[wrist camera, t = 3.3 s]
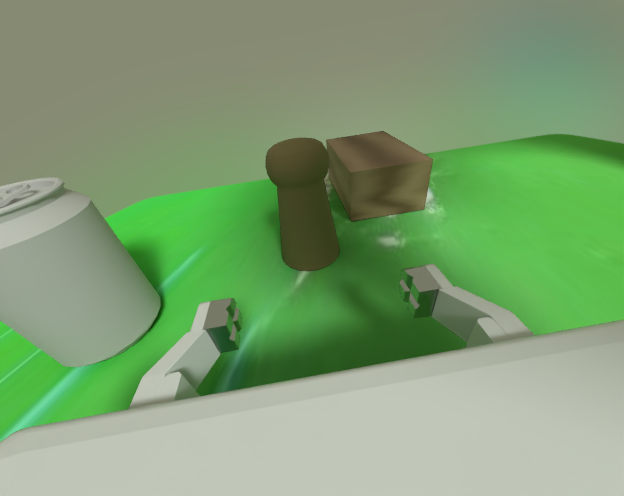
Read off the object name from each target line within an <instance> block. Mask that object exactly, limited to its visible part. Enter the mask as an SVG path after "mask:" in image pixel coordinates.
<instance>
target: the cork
mask: <svg viewBox="0 0 624 496" xmlns="http://www.w3.org/2000/svg"><path fill="white" fill-rule="evenodd" d="M328 168H329V156H328V153H327V150H326V148H325V147H324V146H323V144H322V143H321V142H320V141H318V140H316V139H312V138H294V139H288V140H285V141H282V142H279V143H277V144H275V145H273V146H272V147H271V148H270V149H269V150H268V152H267V155H266V170H267V174H268V176H269V178H270V180H271V181H272V182H273V183H274V184H275V185H276V186H277V191H278V204H279V217H280V230H281V244H282V257H283V260H284V262H285V264H286V265H288V266H289V267H291V268H293V269H296V270H300V271H312V270H318V269H321V268H324V267H326V266H328V265H330V264H331V263H333V262H334V261H335V260H336V258H337V257H338V255H339V251H340V249H339V244H338V240H337V236H336V231H335V227H334V222H333V218H332V214H331V209H330V205H329V201H328V196H327V192H326V187H325V183H324V178H325V177H326V175H327V172H328Z"/></svg>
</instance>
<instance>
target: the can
mask: <svg viewBox="0 0 624 496" xmlns="http://www.w3.org/2000/svg"><path fill="white" fill-rule="evenodd" d="M63 185H64V182H63V181H62V180H61V179H59V178H52V177H50V178H38V179H33V180H27V181H22V182H17V183H13V184H8V185H4V186H0V321H2V322H3V323H4V324H6V325H7V326H9V327H10V328H11V329H13V330H14V331H16V332H17V333H18V334H20V335H21V336H23V337H24V338H25V339H27V340H28V341H30V342H31V343H32V344H34V345H35V346H37V347H38V348H39V349H41V350H42V351H44V352H45V353H46V354H48V355H49V356H51V357H52V358H53V359H55V360H56V361H58V362H59V363H60V364H62V365H63V366H68V367H81V366H86V365H90V364H94V363H97V362H100V361H103V360H107V359H110V358H112V357H114V356H116V355H118V354H120V353H122V352H124V351H125V350H127V349H128V348H130V347H131V346H133V345H134V344H135V343H136V342H137V341H139V340H140V339H141V338H142V337H143V336H144V335H145V334H146V332H147V331H148V330H149V328H150V327H151V326H152V324H153V322H154V319H155V318H156V317H157V314H158V312H159V309H160V306H161V302H160V296H159V295H158V293H157V292H156V291H155V289H154V288H153V286H152V285H151V284H150V282H149V281H148V279H147V278H146V277H145V275H144V274H143V272H142V271H141V270H140V268H139V267H138V265H137V264H136V263H135V261H134V260H133V258H132V257H131V256H130V254H129V253H128V251H127V250H126V249H125V247H124V246H123V244H122V243H121V241H120V240H119V239H118V237H117V236H116V234H115V233H114V232H113V230H112V229H111V227H110V226H109V225H108V223H107V222H106V220H105V219H104V218H103V216H102V215H101V214H100V212H99V211H98V209H97V208H96V207H95V205H94V204H93V202H92V201H91V200H90V198H89V197H88V196H86V195H83V194H80V193H77V192H74V191H71V190H68V189H66V188H64V187H63Z"/></svg>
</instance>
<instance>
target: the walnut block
mask: <svg viewBox="0 0 624 496" xmlns="http://www.w3.org/2000/svg"><path fill="white" fill-rule="evenodd" d="M326 142H327V153H328V156H329V168H328V169H329V178H330V180H331V182H332V184H333V186H334V188H335V190H336V192H337V194H338V196H339V198H340V200H341V202H342V204H343V206H344V208H345V210H346V212H347V214H348V216H349V218H350V220H351V221H357V220H363V219H369V218H375V217H381V216H387V215H393V214H399V213H405V212H411V211H417V210H423V209H424V208H425V202H426V196H427V191H428V185H429V179H430V174H431V168H432V162H433V159H431V158H430V157H428V156H426V155H424V154H423V153H421V152H419V151H417V150H416V149H414V148H412V147H410V146H408V145H407V144H405V143H403V142H402V141H400V140H398V139H396V138H395V137H393V136H391V135H389V134H388V133H386V132H384V131H380V132H374V133H367V134H361V135H355V136H348V137H341V138H336V139H329V140H326Z"/></svg>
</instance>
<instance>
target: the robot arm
mask: <svg viewBox="0 0 624 496" xmlns="http://www.w3.org/2000/svg"><path fill="white" fill-rule="evenodd" d="M400 276H401V277H402V280H401V281H400V282H399V291H400V294H401V297H402V299H403V301H405V302H407V303H408V310H409V311H410V313H411V315H412V317H413V318H414V319H416V318H422V317H429V316H431V317H432V318H433V319H435V320H436V321H438V322H439V323H440V324H442V325H443V326H445V327H446V328H447V329H449V330H450V331H451V332H453V333H454V334H456V335H457V336H458V337H460V338H461V339H463V340H464V341H465V342H467V344H466V347H465V348H463V349H458V350H452V351H447V352H441V353H436V354H430V355H425V356H419V357H414V358H408V359H403V360H397V361H392V362H386V363H381V364H375V365H370V366H365V367H359V368H354V369H348V370H343V371H337V372H331V373H326V374H320V375H315V376H309V377H304V378H298V379H293V380H287V381H282V382H276V383H271V384H265V385H260V386H254V387H249V388H243V389H238V390H232V391H227V392H221V393H216V394H210V395H205V396H200V395H199V394H198V393H197V392H196V390H197V388H198V387H199V385H200V384H201V382H202V381H203V379H204V378H205V376H206V375H207V373H208V372H209V371H210V369H211V368H212V366H213V365H214V363H215V362H216V360H217V359H218V357H219V356H220V353H224V352H229V351H234V350H239V343H240V335H239V333H238V332H239V331H240V330H241V327H242V317H241V313H240V310H239V309H238V308H236V301H235V299H234V298H229V299H222V300H215V301H210V302H202V303H200V304H199V306H198V309H197V312H196V315H195V318H194V321H193V324H192V327H191V331H190V332H188V333H186V334H185V335H184V336H183V337H182V338H181V339H180V340H179V341H178V342H177V343H176V344H175V345H174V346H173V347H172V348H171V349H170V350H169V351H168V352H167V353H166V354H165V355H164V356H163V357H162V358H161V359H160V360H159V361H158V362H157V363H156V364H155V365H154V366H153V367H152V368H151V369H150V370H149V371H148V372H147V373H146V374H145V375H144V376H143V377H142V379H141V381H140V384H139V386H138V388H137V391H136V393H135V395H134V398H133V400H132V402H131V404H130V407H129V409H127V410H122V411H116V412H111V413H105V414H100V415H94V416H89V417H83V418H78V419H72V420H67V421H61V422H56V423H50V424H44V425H38V426H32V427H28V428H24V429H21V430H18V431H16V432H14V433H12V434H11V435H9V436H8V437H7V438H5V439H4V440H2V441H1V442H0V496H624V320H617V321H612V322H606V323H601V324H595V325H590V326H585V327H579V328H574V329H568V330H563V331H557V332H552V333H546V334H541V335H534V334H533V333H532V332H531V331H530V330H529V329H528V328H527V327H526V326H525V325H524V324H523V323H522V322H521V321H520V320H519V319H518V318H517V317H516V316H515V315H514V314H513V313H512V312H511V311H508V310H506V309H504V308H502V307H500V306H498V305H496V304H493V303H491V302H489V301H487V300H485V299H483V298H481V297H478V296H476V295H474V294H472V293H470V292H468V291H466V290H463V289H461V288H459V287H457V286H455V287H453V286H452V284H451V283H450V282H449V281H448V280H447V278H446V277H445V276H444V275H443V274H442V273H441V271H440V270H439V269H438V268H437V267H436V265H434V264H429V265H423V266H418V267H412V268H406V269H402V270H401V274H400Z"/></svg>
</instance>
